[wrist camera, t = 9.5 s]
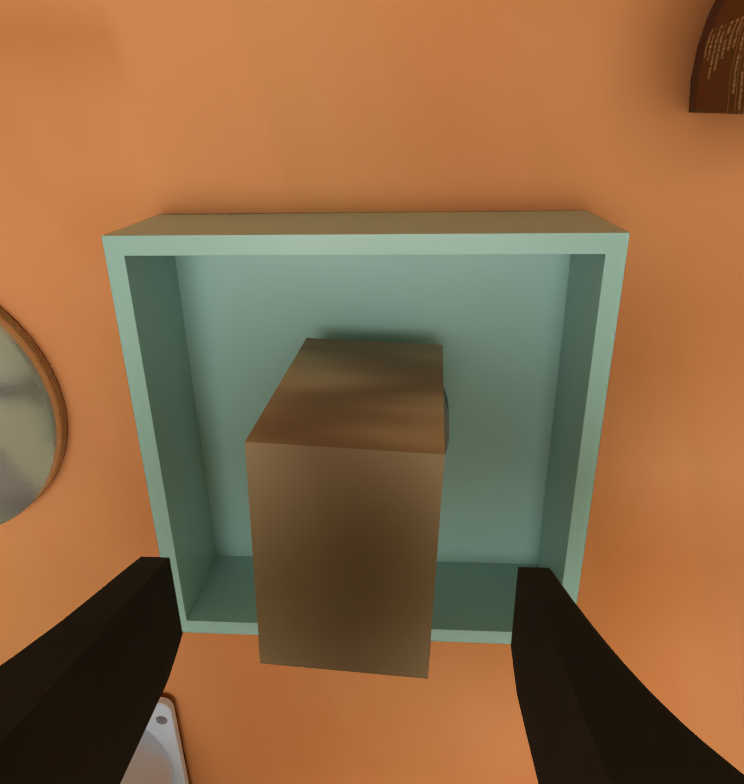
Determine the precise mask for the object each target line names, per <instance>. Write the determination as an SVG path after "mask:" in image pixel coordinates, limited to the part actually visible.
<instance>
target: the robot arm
mask: <svg viewBox="0 0 744 784" xmlns="http://www.w3.org/2000/svg"><path fill="white" fill-rule="evenodd" d="M182 634H183V632H182V626H181V620H180V615H179V609H178V603H177V597H176V592H175V586H174V580H173V574H172V569H171V563H170V558H169V557H140V558H139V559H138V560H136V561H135V562H134V563H132V564H131V565H130V566H129V567H127V568H126V569H125V570H124V571H123V572H121V573H120V574H119V575H118V576H116V577H115V578H114V579H113V580H112V581H110V582H109V583H108V584H107V585H106V586H104V587H103V588H102V589H101V590H99V591H98V592H97V593H96V594H95V595H93V596H92V597H91V598H90V599H88V600H87V601H86V602H85V603H83V604H82V605H81V606H80V607H78V608H77V609H76V610H75V611H73V612H72V613H71V614H70V615H69V616H67V617H66V618H65V619H64V620H62V621H61V622H60V623H58V624H57V625H56V626H54V627H53V628H52V629H50V630H49V631H48V632H46V633H45V634H44V635H42V636H41V637H39V638H38V639H37V640H35V641H34V642H33V643H31V644H30V645H29V646H27V647H26V648H25V649H23V650H22V651H21V652H19V653H18V654H17V655H15V656H14V657H12V658H11V659H9V660H8V661H7V662H5V663H4V664H2V665H1V666H0V784H189V781H188V775H187V770H186V765H185V760H184V755H183V750H182V745H181V739H180V734H179V729H178V724H177V719H176V714H175V709H174V705H173V703H172V701H170V700H169V699H168V698H165V697H161V694H162V692H163V690H164V688H165V685H166V683H167V681H168V678H169V675H170V672H171V669H172V666H173V663H174V660H175V657H176V654H177V650H178V647H179V644H180V640H181V637H182ZM511 650H512V658H513V666H514V674H515V682H516V690H517V696H518V700H519V704H520V709H521V713H522V717H523V721H524V725H525V730H526V734H527V738H528V742H529V746H530V750H531V754H532V758H533V763H534V767H535V771H536V775H537V779H538V783H539V784H744V775H743V774H742V773H741V772H740V771H738V770H737V769H736V768H735V767H733V766H732V765H731V764H730V763H729V762H727V761H726V760H725V759H724V758H723V757H721V756H720V755H719V754H718V753H716V752H715V751H714V750H713V749H712V748H710V747H709V746H708V745H707V744H705V743H704V742H703V741H702V740H701V739H700V738H698V737H697V736H696V735H695V734H694V733H693V732H692V731H690V730H689V729H688V728H687V727H686V726H685V725H684V724H683V723H682V722H681V721H680V720H679V719H678V718H676V717H675V716H674V715H673V714H672V713H671V712H670V711H669V710H668V709H667V708H666V707H665V706H664V705H663V704H662V703H661V702H660V701H659V700H658V699H657V698H656V697H655V696H654V695H653V694H652V693H651V692H650V691H649V690H648V689H647V688H646V687H645V686H644V685H643V684H642V682H641V681H640V680H639V679H638V678H637V677H636V676H635V675H634V674H633V673H632V672H631V670H630V669H629V668H628V667H627V666H626V665H625V664H624V663H623V662H622V660H621V659H620V658H619V657H618V656H617V655H616V653H615V652H614V651H613V650H612V649H611V648H610V646H609V645H608V644H607V643H606V641H605V640H604V639H603V638H602V637H601V635H600V634H599V633H598V632H597V631H596V629H595V628H594V627H593V626H592V624H591V623H590V622H589V620H588V619H587V618H586V617H585V615H584V614H583V613H582V611H581V610H580V609H579V607H578V606H577V605H576V603H575V602H574V601H573V599H572V598H571V597H570V595H569V594H568V592H567V591H566V590H565V588H564V587H563V585H562V584H561V583H560V581H559V580H558V578H557V577H556V575H555V574H554V573H553V572H552V570H551V569H550V568H540V567H518V573H517V584H516V595H515V606H514V616H513V627H512V638H511Z"/></svg>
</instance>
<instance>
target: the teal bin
mask: <svg viewBox="0 0 744 784" xmlns="http://www.w3.org/2000/svg"><path fill="white" fill-rule="evenodd" d="M629 235H630V233H629V232H627V231H625V230H623V229H621V228H620V227H618V226H616V225H614V224H612V223H610V222H608V221H606V220H604V219H602V218H600V217H599V216H597V215H595V214H593V213H591V212H589V211H506V212H379V213H253V214H160V215H157V216H154V217H152V218H149V219H146V220H143V221H141V222H138V223H135V224H133V225H130V226H127V227H124V228H122V229H119V230H116V231H113V232H111V233H108V234H105V235H103V236H102V241H103V247H104V252H105V258H106V263H107V269H108V274H109V280H110V285H111V290H112V296H113V301H114V307H115V312H116V318H117V323H118V329H119V334H120V340H121V345H122V351H123V356H124V362H125V367H126V372H127V378H128V383H129V389H130V394H131V400H132V405H133V411H134V416H135V422H136V427H137V433H138V438H139V444H140V449H141V455H142V460H143V465H144V471H145V476H146V482H147V487H148V493H149V498H150V504H151V509H152V515H153V520H154V526H155V531H156V537H157V542H158V548H159V553H160V557H169V558H170V563H171V569H172V574H173V580H174V586H175V592H176V597H177V603H178V609H179V615H180V620H181V626H182V632H193V633H221V634H249V635H258V623H257V609H256V595H255V580H254V566H253V552H252V538H251V523H250V509H249V495H248V480H247V466H246V452H245V441H246V439H247V437H248V436H249V434H250V432H251V431H252V429H253V427H254V425H255V424H256V422H257V420H258V419H259V417H260V415H261V414H262V412H263V410H264V409H265V407H266V405H267V404H268V402H269V400H270V399H271V397H272V395H273V394H274V392H275V390H276V388H277V387H278V385H279V383H280V382H281V380H282V378H283V377H284V375H285V373H286V372H287V370H288V368H289V367H290V365H291V363H292V362H293V360H294V358H295V357H296V355H297V353H298V351H299V350H300V348H301V346H302V345H303V343H304V341H305V340H306V338H317V339H337V340H357V341H377V342H396V343H416V344H436V345H443V387H444V390H445V393H446V396H447V400H448V407H449V443H448V448H447V451H446V454H445V458H444V471H443V484H442V497H441V510H440V524H439V537H438V550H437V563H436V576H435V590H434V603H433V616H432V629H431V641H442V642H470V643H498V644H511V638H512V627H513V616H514V606H515V595H516V584H517V573H518V567H540V568H550V569H551V570H552V572H553V573H554V574H555V575H556V577H557V578H558V580H559V581H560V583H561V584H562V585H563V587H564V588H565V590H566V591H567V592H568V594H569V595H570V597H571V598H572V599H573V601H574V602H575V603H576V604H577V597H578V590H579V584H580V577H581V570H582V563H583V556H584V549H585V542H586V535H587V528H588V521H589V514H590V507H591V500H592V493H593V486H594V479H595V472H596V465H597V458H598V451H599V444H600V437H601V430H602V423H603V416H604V409H605V402H606V395H607V388H608V381H609V374H610V367H611V360H612V353H613V346H614V339H615V332H616V326H617V319H618V312H619V305H620V298H621V291H622V284H623V277H624V270H625V263H626V256H627V249H628V242H629Z"/></svg>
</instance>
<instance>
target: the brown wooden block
mask: <svg viewBox="0 0 744 784" xmlns="http://www.w3.org/2000/svg"><path fill="white" fill-rule="evenodd" d="M448 443H449V407H448V400H447V396H446V393H445V390H444V387H443V345H436V344H416V343H396V342H377V341H357V340H337V339H317V338H306V340H305V341H304V343H303V345H302V346H301V348H300V350H299V351H298V353H297V355H296V357H295V358H294V360H293V362H292V363H291V365H290V367H289V368H288V370H287V372H286V373H285V375H284V377H283V378H282V380H281V382H280V383H279V385H278V387H277V388H276V390H275V392H274V394H273V395H272V397H271V399H270V400H269V402H268V404H267V405H266V407H265V409H264V410H263V412H262V414H261V415H260V417H259V419H258V420H257V422H256V424H255V425H254V427H253V429H252V431H251V432H250V434H249V436H248V437H247V439H246V441H245V452H246V466H247V480H248V495H249V509H250V523H251V538H252V552H253V566H254V580H255V595H256V609H257V623H258V638H259V652H260V663H264V664H275V665H286V666H297V667H307V668H318V669H329V670H340V671H350V672H361V673H372V674H383V675H393V676H404V677H415V678H426V679H428V669H429V656H430V642H431V629H432V616H433V603H434V590H435V576H436V563H437V550H438V537H439V524H440V510H441V497H442V484H443V471H444V458H445V454H446V451H447V448H448Z"/></svg>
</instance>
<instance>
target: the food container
mask: <svg viewBox="0 0 744 784" xmlns="http://www.w3.org/2000/svg"><path fill="white" fill-rule="evenodd" d="M689 112H693V113H722V114H744V0H716V1H715V3H714V5H713V7H712V9H711V11H710V13H709V15H708V18H707V21H706V24H705V27H704V30H703V32H702V35H701V38H700V41H699V44H698V47H697V52H696V57H695V62H694V66H693V71H692V76H691V86H690V103H689Z"/></svg>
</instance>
